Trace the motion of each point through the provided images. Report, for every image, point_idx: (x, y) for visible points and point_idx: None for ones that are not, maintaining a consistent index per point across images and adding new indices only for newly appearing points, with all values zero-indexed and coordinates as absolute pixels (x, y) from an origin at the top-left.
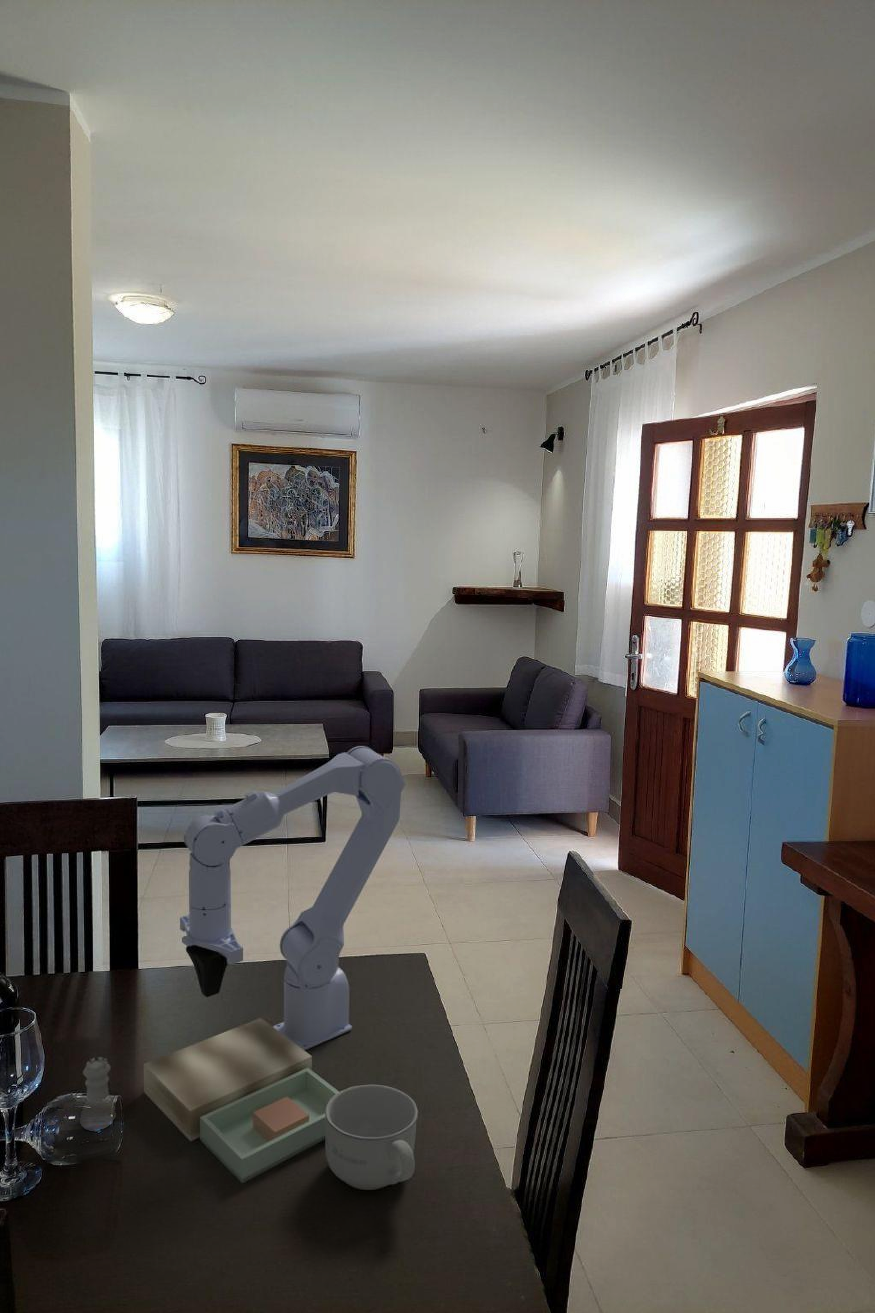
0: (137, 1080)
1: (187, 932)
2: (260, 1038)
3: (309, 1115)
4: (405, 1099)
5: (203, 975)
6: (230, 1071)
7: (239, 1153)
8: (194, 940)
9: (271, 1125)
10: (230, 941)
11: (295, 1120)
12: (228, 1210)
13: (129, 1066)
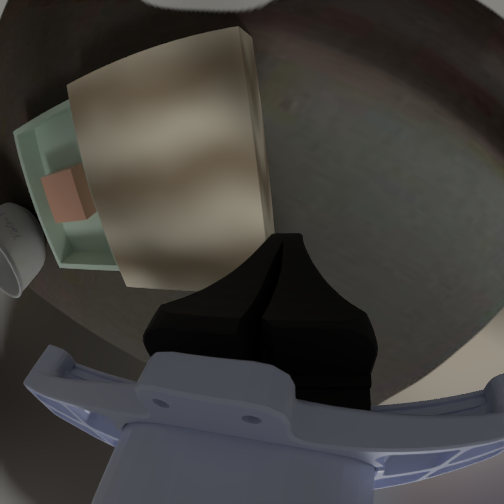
0: (300, 39)
1: (347, 450)
2: (202, 260)
3: (85, 226)
4: (12, 293)
5: (238, 271)
6: (127, 172)
7: (18, 131)
8: (152, 415)
9: (48, 179)
10: (101, 437)
11: (51, 206)
12: (18, 105)
13: (358, 47)
